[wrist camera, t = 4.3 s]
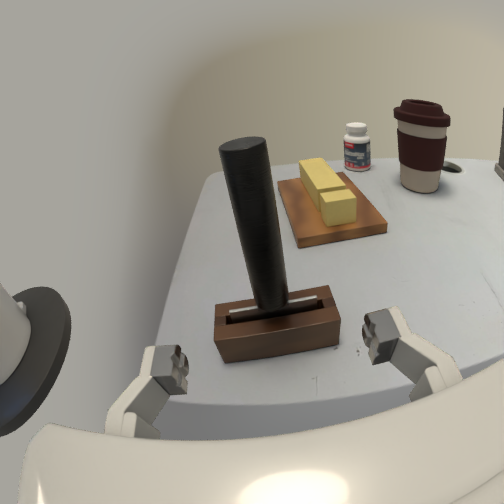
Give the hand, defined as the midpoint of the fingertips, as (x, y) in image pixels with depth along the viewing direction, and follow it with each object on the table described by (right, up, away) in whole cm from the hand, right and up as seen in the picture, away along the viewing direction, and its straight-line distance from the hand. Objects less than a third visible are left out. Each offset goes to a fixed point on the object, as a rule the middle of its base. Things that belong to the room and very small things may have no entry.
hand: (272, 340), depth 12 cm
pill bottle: (+20, +20, +41) cm, 50 cm away
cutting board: (+10, +10, +30) cm, 33 cm away
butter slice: (+10, +8, +24) cm, 27 cm away
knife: (+2, -4, +13) cm, 14 cm away
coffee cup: (+29, +15, +31) cm, 45 cm away
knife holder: (+2, -4, +13) cm, 14 cm away
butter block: (+10, +13, +31) cm, 35 cm away
